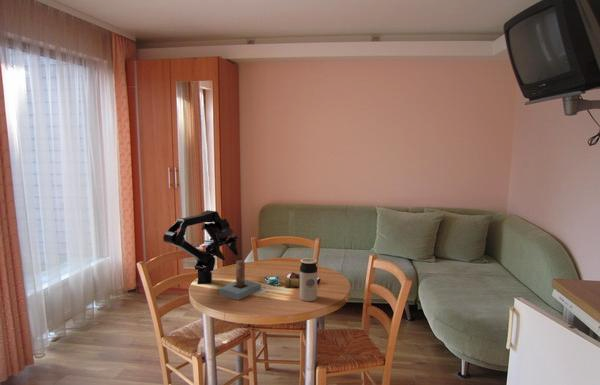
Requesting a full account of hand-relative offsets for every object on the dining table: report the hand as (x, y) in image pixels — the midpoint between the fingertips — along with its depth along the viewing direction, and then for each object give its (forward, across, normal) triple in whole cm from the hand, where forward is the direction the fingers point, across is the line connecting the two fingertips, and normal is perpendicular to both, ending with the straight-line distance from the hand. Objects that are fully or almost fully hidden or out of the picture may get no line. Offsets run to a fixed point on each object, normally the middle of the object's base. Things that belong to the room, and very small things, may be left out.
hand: (231, 257), depth 191 cm
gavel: (+27, +22, -6) cm, 35 cm away
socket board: (+18, -7, +1) cm, 19 cm away
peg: (+18, -7, +1) cm, 19 cm away
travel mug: (+40, +6, -20) cm, 45 cm away
